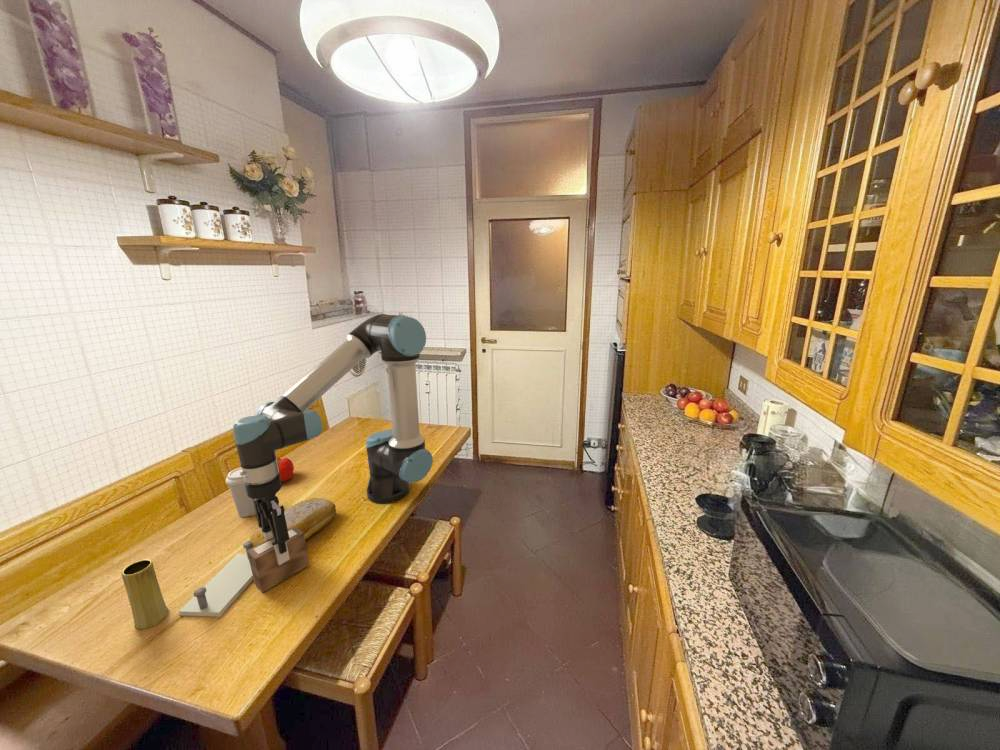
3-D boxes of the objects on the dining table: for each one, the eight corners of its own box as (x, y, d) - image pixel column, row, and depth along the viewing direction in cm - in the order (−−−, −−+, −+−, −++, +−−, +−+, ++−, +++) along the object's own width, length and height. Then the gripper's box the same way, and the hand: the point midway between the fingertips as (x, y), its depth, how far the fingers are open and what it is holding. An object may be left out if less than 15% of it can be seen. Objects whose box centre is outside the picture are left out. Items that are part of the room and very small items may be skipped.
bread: (241, 559, 112) (237, 534, 110) (309, 509, 137) (306, 488, 135) (280, 568, 109) (277, 543, 107) (342, 515, 133) (340, 494, 132)
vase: (148, 609, 97) (133, 558, 93) (175, 606, 97) (161, 556, 93) (127, 630, 91) (110, 578, 87) (156, 628, 91) (140, 575, 88)
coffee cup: (250, 521, 130) (242, 480, 126) (226, 518, 132) (216, 477, 128) (272, 505, 139) (264, 465, 136) (249, 502, 141) (241, 464, 137)
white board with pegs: (272, 557, 113) (268, 540, 112) (220, 616, 94) (215, 596, 92) (238, 556, 114) (234, 539, 112) (179, 615, 94) (174, 595, 93)
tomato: (252, 485, 153) (248, 465, 151) (280, 470, 164) (277, 451, 162) (276, 491, 148) (272, 470, 146) (303, 475, 159) (300, 456, 157)
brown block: (301, 557, 112) (294, 525, 109) (309, 564, 109) (303, 532, 106) (254, 583, 103) (246, 550, 100) (262, 592, 100) (254, 558, 97)
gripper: (231, 473, 101) (249, 551, 107) (261, 496, 90) (279, 581, 96) (263, 461, 107) (278, 536, 113) (294, 482, 96) (309, 563, 102)
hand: (278, 557), depth 105 cm, fingers closed on brown block, 5 cm apart
